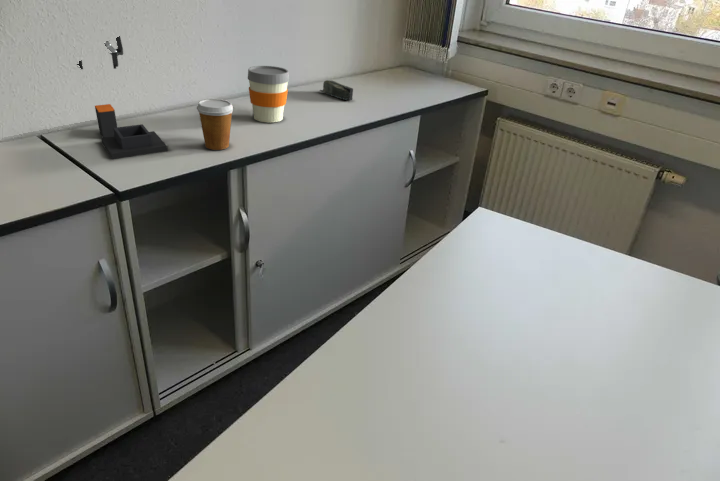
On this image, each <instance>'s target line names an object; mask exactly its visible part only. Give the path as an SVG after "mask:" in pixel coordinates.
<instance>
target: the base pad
mask: <svg viewBox="0 0 720 481" xmlns="http://www.w3.org/2000/svg"><path fill="white" fill-rule="evenodd" d="M113 130H114V136H112V137H105V138H102V137H101V138H100V141H101V144H102V146H103V147H104V150H106V152H107V154H108V155H109V157H110V158H111V160H114V159H115V160H116V159H117V160H118V159H122V158H123V159H124V158H129V157H130V158H131V157H136V156H142V155H144V156H145V155H149V154H156V153H163V152H168V145H167V144H166V143H165V142H164V141H163V139H162V138H161V137H160V136H159V135H158V133H156V131H155V130H152V131H149V129H148V128H146V126H145V125H144V124H143V123H142V124H141V123H140V124H133V125H125V126H117V127H115V128H113Z"/></svg>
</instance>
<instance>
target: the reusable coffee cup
mask: <svg viewBox="0 0 720 481" xmlns="http://www.w3.org/2000/svg"><path fill="white" fill-rule="evenodd" d="M247 80H248V82H249V86H248V93H249V100H250V104H252V105H251V106H252V112H253V119H254V120H256V121H258V122H260V123H278V122H282V121H283V119H284V111H285V106H286V104H287V98H288V93H289V89H288V84H289V83H288V82H289V81H290V76H289V70H288V69H286V68H284V67H280V66H275V65H273V66H272V65H255V66H250V67H249V68H248V70H247Z"/></svg>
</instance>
